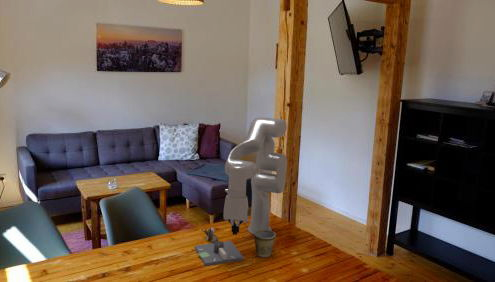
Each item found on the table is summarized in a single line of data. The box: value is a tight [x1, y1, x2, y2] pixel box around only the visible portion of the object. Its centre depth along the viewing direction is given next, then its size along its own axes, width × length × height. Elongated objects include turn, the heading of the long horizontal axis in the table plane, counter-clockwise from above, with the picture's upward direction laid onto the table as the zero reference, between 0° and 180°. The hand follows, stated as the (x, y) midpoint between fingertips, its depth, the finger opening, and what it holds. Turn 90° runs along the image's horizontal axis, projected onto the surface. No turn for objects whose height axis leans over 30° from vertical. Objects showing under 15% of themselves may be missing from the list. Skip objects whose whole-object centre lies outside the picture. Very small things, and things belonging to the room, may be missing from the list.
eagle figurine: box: [200, 226, 219, 244], centre depth 201 cm, size 8×7×9 cm
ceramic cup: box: [253, 229, 277, 258], centre depth 190 cm, size 13×10×10 cm
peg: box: [214, 240, 227, 260], centre depth 184 cm, size 11×4×4 cm, turn 22°
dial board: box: [194, 240, 245, 267], centre depth 187 cm, size 18×19×1 cm
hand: (235, 233), depth 177 cm, fingers closed
